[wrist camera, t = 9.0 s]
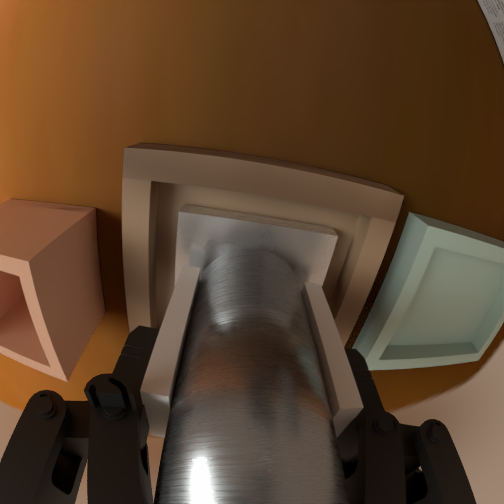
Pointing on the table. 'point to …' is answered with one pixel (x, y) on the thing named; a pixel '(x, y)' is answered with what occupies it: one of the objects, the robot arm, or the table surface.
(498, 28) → the coffee box
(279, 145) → the table surface
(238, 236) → the pale grey square tile
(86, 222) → the pink open box
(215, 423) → the cell
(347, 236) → the base
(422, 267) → the tray
